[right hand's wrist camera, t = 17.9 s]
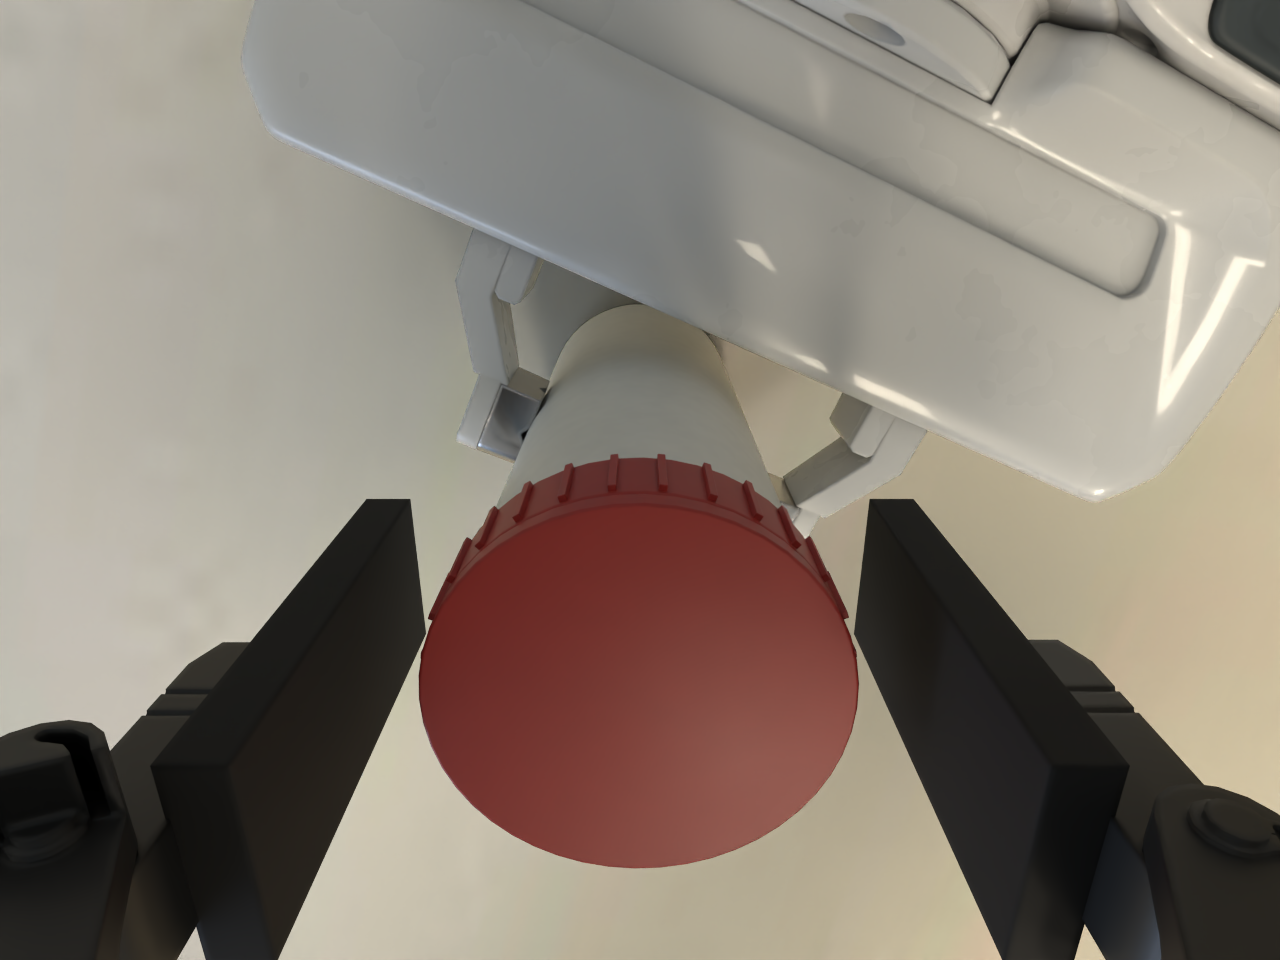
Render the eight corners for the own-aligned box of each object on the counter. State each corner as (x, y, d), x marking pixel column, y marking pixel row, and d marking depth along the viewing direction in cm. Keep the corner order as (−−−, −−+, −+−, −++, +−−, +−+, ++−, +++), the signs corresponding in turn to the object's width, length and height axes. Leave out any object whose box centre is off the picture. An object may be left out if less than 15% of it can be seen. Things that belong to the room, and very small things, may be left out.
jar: (735, 310, 24) (864, 510, 10) (716, 477, 26) (802, 832, 12) (555, 297, 24) (439, 481, 10) (550, 466, 26) (447, 813, 12)
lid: (359, 630, 12) (318, 699, 11) (646, 362, 11) (647, 397, 9) (633, 845, 14) (631, 933, 12) (916, 641, 12) (955, 711, 11)
